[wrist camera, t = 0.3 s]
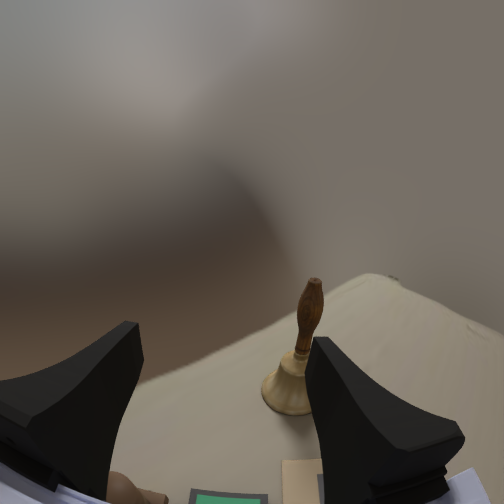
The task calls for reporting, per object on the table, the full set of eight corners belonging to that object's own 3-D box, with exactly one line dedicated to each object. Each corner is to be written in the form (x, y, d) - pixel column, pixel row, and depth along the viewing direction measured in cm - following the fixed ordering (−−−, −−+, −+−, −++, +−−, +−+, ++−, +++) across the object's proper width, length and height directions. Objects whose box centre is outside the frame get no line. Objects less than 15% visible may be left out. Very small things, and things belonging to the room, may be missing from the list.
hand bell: (260, 368, 37) (268, 262, 31) (319, 367, 37) (342, 264, 31) (262, 417, 29) (275, 304, 23) (331, 413, 29) (369, 304, 23)
